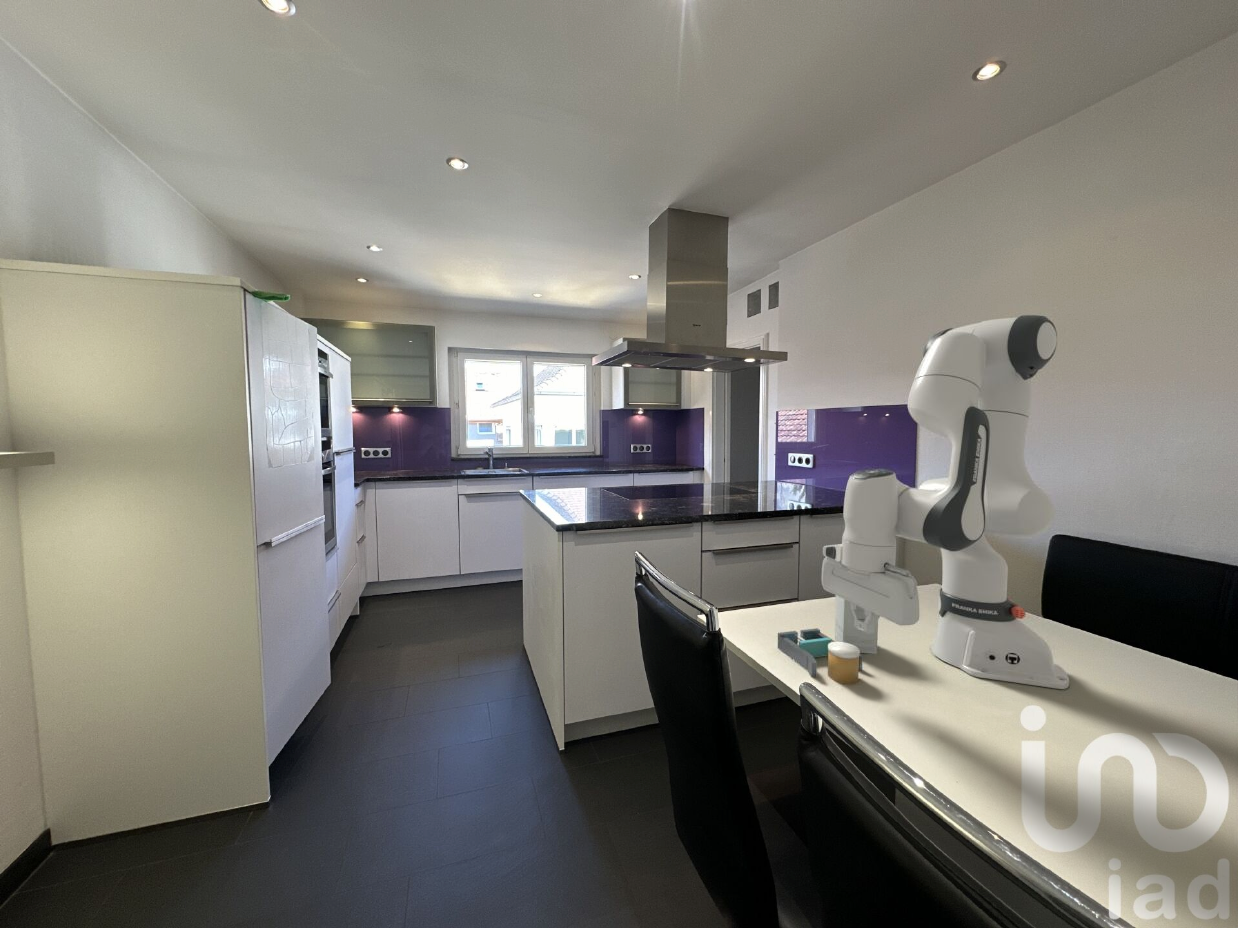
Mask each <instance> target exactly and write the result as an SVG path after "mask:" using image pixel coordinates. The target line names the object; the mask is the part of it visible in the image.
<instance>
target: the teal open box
mask: <svg viewBox="0 0 1238 928" xmlns="http://www.w3.org/2000/svg"><path fill="white" fill-rule="evenodd" d="M829 638H830V637H829ZM829 638H820V639H812V640H804V639H803V638H801V637H800V635H798V646H800V647H801V648H803V649H804V650H805V651H807V652H808V653H810V654H811V655H812V656H813V658H819V657H828V644H829V643H831V639H832V638H831V639H829Z"/></svg>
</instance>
